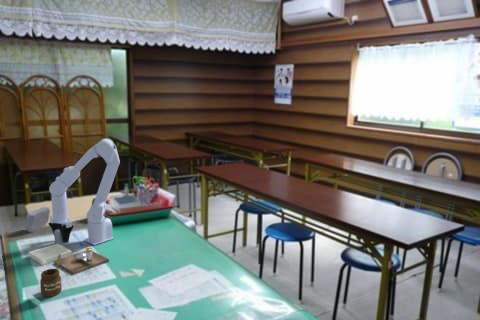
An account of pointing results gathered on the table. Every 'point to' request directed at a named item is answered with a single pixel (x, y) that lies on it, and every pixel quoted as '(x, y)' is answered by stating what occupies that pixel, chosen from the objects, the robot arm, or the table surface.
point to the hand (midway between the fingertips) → (61, 239)
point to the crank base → (80, 263)
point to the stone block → (37, 219)
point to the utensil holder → (50, 281)
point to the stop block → (58, 237)
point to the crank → (85, 256)
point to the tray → (49, 254)
